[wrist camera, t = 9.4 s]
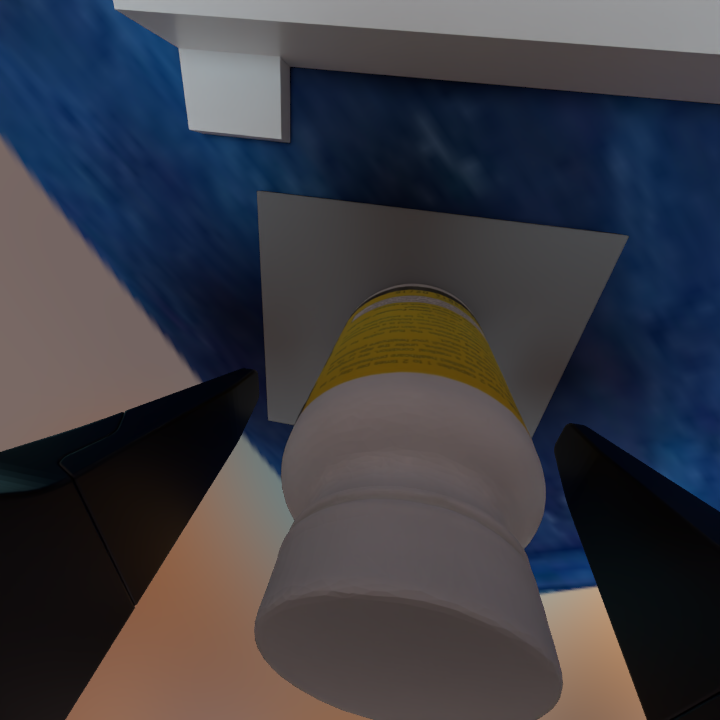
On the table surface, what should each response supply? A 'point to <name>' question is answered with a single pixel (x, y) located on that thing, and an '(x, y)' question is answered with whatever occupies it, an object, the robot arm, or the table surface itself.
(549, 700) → the supplement bottle
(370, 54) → the white barrier
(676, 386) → the table surface
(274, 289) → the slate mat
